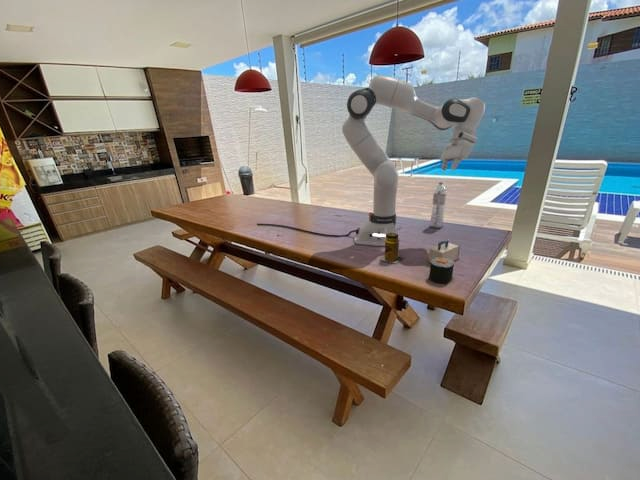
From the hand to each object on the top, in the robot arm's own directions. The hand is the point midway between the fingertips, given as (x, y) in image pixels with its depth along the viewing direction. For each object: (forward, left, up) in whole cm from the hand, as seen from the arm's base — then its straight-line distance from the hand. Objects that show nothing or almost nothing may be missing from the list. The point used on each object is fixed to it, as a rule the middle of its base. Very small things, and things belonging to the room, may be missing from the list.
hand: (447, 169), depth 137 cm
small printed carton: (-1, -20, -36) cm, 41 cm away
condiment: (-23, -19, -36) cm, 47 cm away
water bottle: (+3, +27, -36) cm, 45 cm away
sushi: (-5, -37, -36) cm, 52 cm away
